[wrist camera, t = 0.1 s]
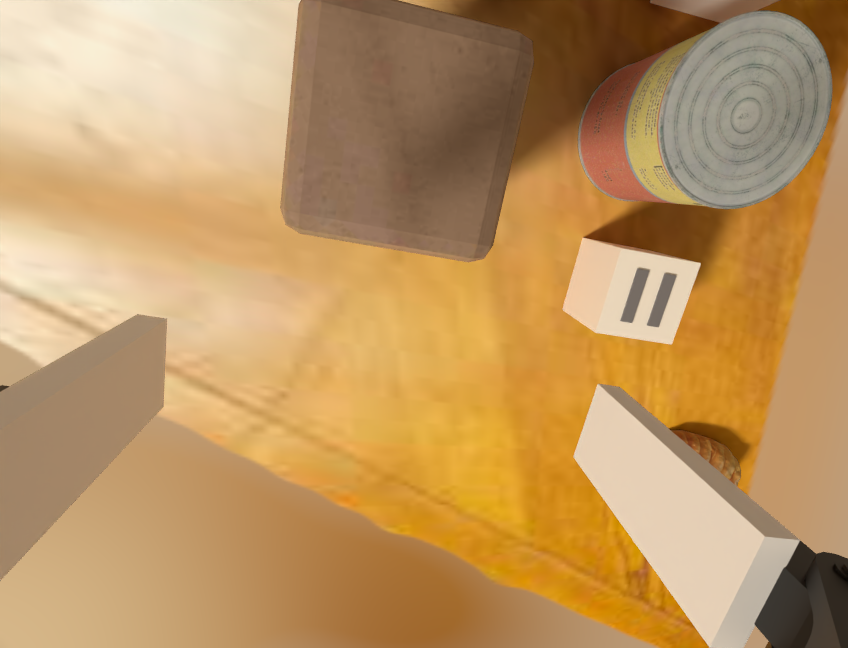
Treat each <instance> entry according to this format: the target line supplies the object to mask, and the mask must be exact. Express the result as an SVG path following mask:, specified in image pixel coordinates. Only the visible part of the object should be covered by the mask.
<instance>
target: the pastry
mask: <svg viewBox="0 0 848 648" xmlns="http://www.w3.org/2000/svg"><path fill="white" fill-rule="evenodd" d="M671 431H672V432H673V433H674V434H675V435H677V436H678V437H679V438H680V439H681V440H683V441H684V442H685V443H686V444H687V445H688V446H690V447H691V448H692V449H693V450H694V451H696V452H697V453H698V454H699V455H700V456H701V457H703V458H704V459H705V460H706V461H707V462H709V463H710V464H711V465H712V466H713V467H714V468H716V469H717V470H718V471H719V472H720V473H721V474H723V475H724V476H725V477H726V478H727V479H729V480H730V481H731V482H732V483H733V484H734V485H736V486H737V485H738V481H739V480H740V478H741V469H740V465H739V462H738V460H737V459H736V458H735V457H734V456H733V455H732V453H731V451H730V450H729V449H728V447H727V446H725V445H723V444H721V443H719V442H716V441H715V440H713V439H711V438H708V437H705V436H702V435H698V434H695V433H691V432H687V431H684V430H671Z"/></svg>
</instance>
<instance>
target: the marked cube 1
mask: <svg viewBox="0 0 848 648" xmlns="http://www.w3.org/2000/svg"><path fill="white" fill-rule="evenodd" d="M700 265H701V263H698V262H694V261H690V260H686V259H682V258H678V257H674V256H670V255H666V254H662V253H659V252H655V251H650V250H645V249H640V248H635V247H629V246H624V245H619V244H614V243H608V242H603V241H598V240H593V239H588V238H583V239H582V242H581V246H580V249H579V253H578V257H577V260H576V264H575V267H574V271H573V274H572V278H571V281H570V285H569V288H568V292H567V295H566V299H565V302H564V306H563V309H562V310H563V311H565V312H566V313H568V314H569V315H571V316H572V317H574V318H575V319H576V320H578V321H579V322H581V323H582V324H584V325H585V326H587V327H588V328H590V329H591V330H592V331H594V332H595V333H601V334H608V335H614V336H621V337H627V338H633V339H640V340H646V341H652V342H659V343H665V344H671V345H672V342H673V339H674V337H675V334H676V331H677V328H678V326H679V323H680V320H681V317H682V315H683V312H684V309H685V306H686V304H687V301H688V298H689V295H690V293H691V290H692V287H693V284H694V282H695V279H696V276H697V273H698V271H699V268H700Z"/></svg>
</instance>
